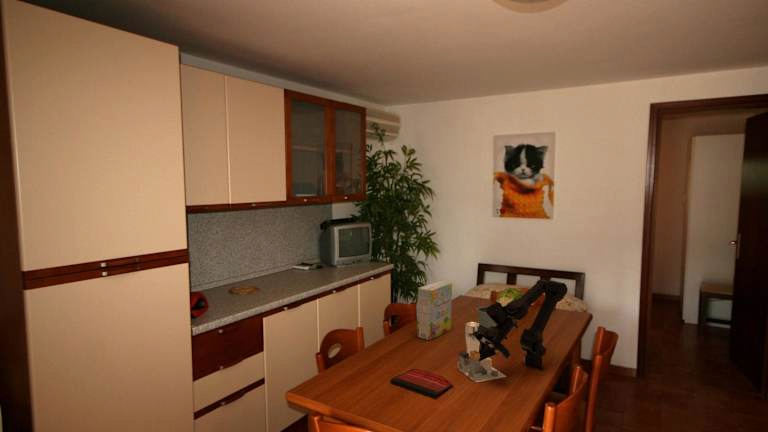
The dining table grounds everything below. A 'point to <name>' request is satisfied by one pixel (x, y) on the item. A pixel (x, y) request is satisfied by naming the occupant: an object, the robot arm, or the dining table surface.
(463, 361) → the black lever
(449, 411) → the dining table surface
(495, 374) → the panel
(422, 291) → the snack box
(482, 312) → the grey pot
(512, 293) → the lettuce
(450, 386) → the binder
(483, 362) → the slider
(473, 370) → the orange lever
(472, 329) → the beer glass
